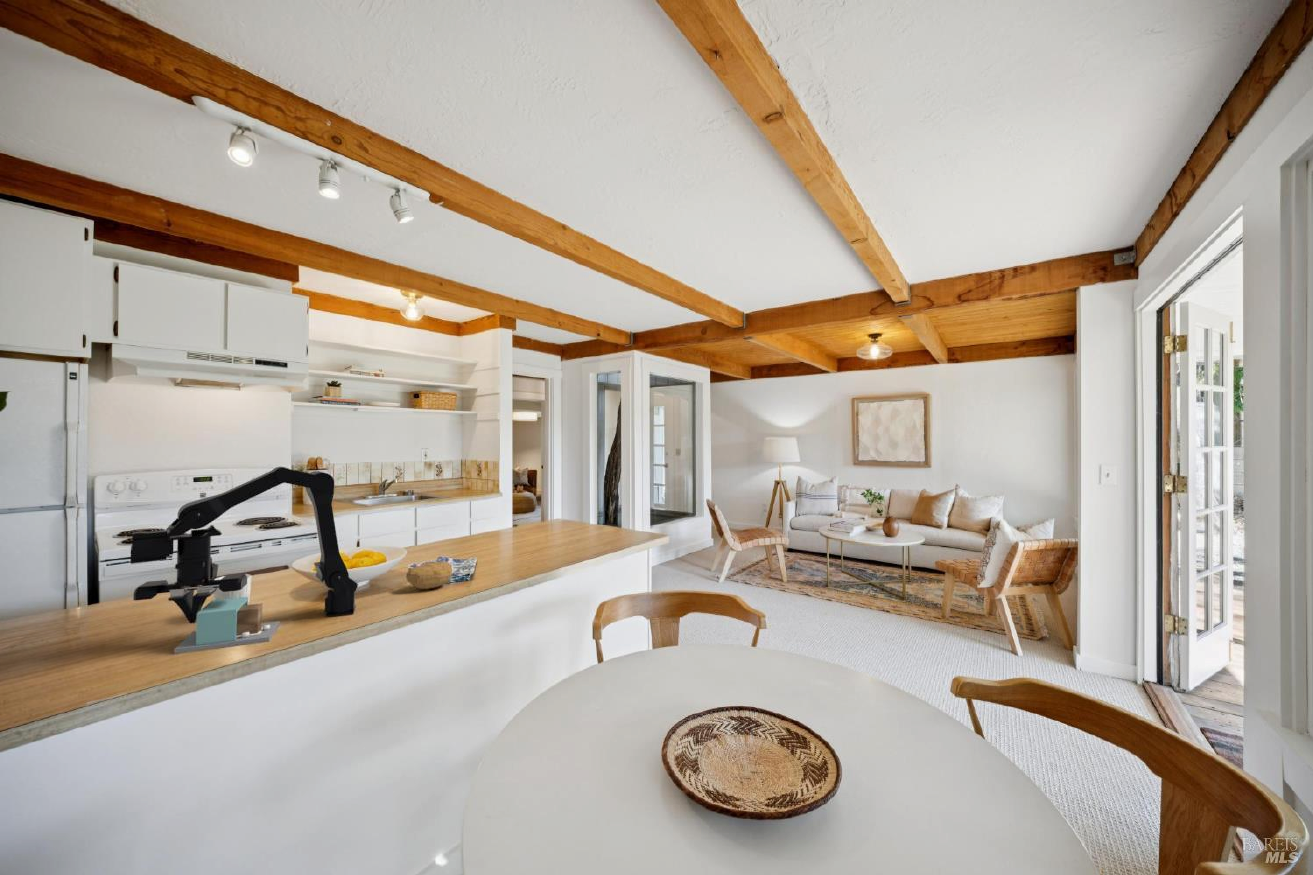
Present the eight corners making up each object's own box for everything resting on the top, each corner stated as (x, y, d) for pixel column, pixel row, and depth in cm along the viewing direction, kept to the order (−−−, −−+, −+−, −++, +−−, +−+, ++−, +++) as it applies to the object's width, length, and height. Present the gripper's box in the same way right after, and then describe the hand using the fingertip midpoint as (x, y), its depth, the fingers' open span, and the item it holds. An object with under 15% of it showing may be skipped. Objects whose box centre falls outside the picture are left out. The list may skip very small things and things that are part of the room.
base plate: (279, 624, 127) (279, 617, 127) (269, 641, 117) (269, 632, 117) (193, 635, 119) (193, 627, 119) (174, 653, 109) (174, 644, 109)
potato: (401, 588, 159) (402, 564, 158) (445, 580, 168) (446, 557, 168) (411, 596, 151) (411, 570, 151) (456, 587, 161) (457, 563, 161)
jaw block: (261, 627, 122) (262, 603, 122) (257, 633, 119) (258, 608, 119) (241, 629, 121) (242, 605, 121) (236, 635, 117) (237, 610, 117)
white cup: (233, 620, 129) (234, 582, 129) (203, 619, 129) (204, 581, 129) (258, 610, 137) (259, 574, 137) (230, 609, 137) (231, 573, 137)
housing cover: (247, 625, 123) (248, 596, 123) (235, 640, 115) (236, 609, 115) (211, 629, 120) (211, 600, 120) (196, 645, 111) (196, 613, 111)
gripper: (253, 545, 126) (252, 606, 126) (155, 552, 118) (154, 616, 118) (240, 555, 116) (239, 621, 116) (132, 563, 108) (131, 634, 108)
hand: (192, 622), depth 115 cm, fingers closed
